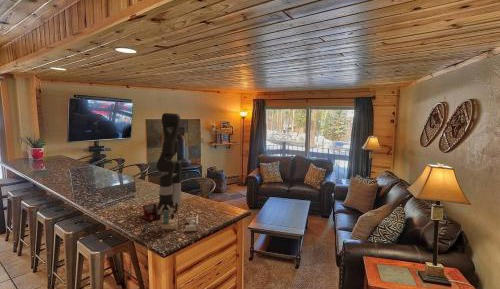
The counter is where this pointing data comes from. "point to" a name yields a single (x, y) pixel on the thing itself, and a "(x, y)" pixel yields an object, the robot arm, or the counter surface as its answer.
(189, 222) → the ball
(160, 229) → the track
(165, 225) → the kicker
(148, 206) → the toy fire truck
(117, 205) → the counter surface
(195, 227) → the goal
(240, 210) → the counter surface
